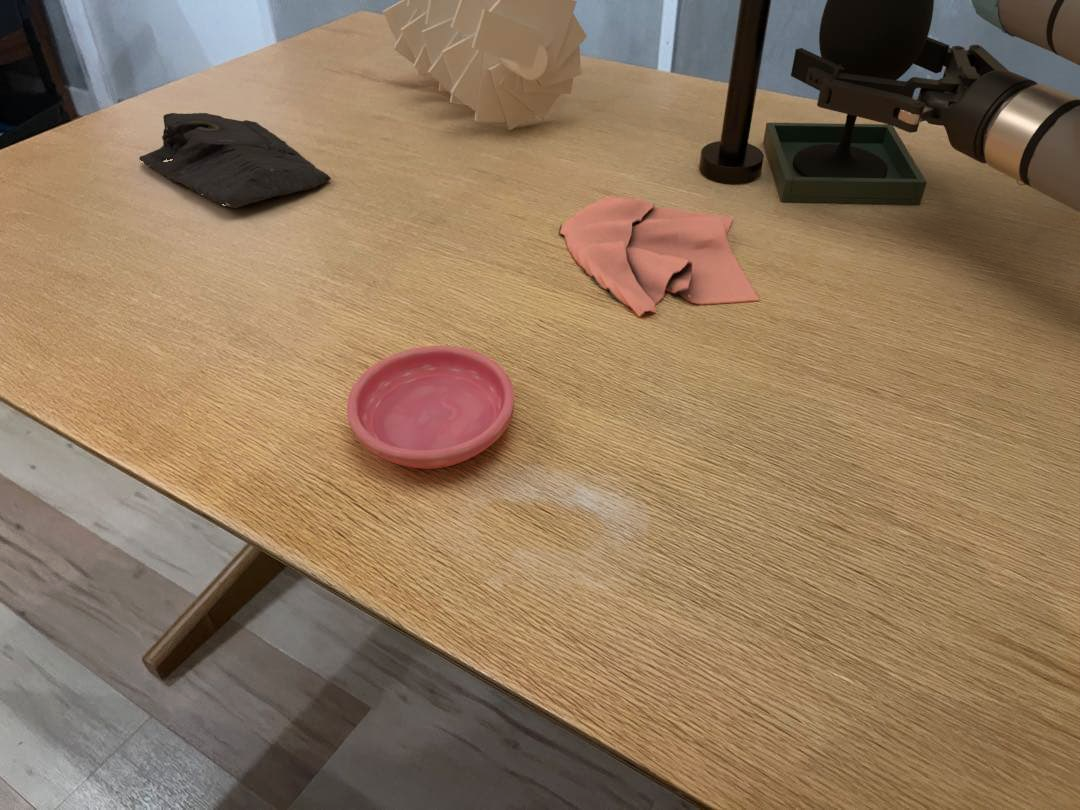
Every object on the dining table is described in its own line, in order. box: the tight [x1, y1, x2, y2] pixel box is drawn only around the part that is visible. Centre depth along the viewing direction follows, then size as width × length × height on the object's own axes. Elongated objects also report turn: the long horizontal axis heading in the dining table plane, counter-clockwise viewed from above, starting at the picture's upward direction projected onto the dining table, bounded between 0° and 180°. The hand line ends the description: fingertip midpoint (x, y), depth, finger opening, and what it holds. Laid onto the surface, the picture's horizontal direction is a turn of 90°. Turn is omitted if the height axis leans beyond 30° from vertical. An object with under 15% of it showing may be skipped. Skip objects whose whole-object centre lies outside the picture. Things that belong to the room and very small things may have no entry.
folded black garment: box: [138, 112, 331, 209], centre depth 94 cm, size 15×22×5 cm
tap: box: [698, 0, 772, 185], centre depth 83 cm, size 10×7×34 cm, turn 86°
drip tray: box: [762, 122, 928, 206], centre depth 93 cm, size 15×15×3 cm
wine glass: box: [793, 0, 935, 178], centre depth 86 cm, size 10×10×20 cm
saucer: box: [346, 345, 516, 470], centre depth 62 cm, size 12×12×3 cm
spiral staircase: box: [382, 0, 588, 131], centre depth 103 cm, size 18×18×25 cm
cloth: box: [558, 195, 760, 318], centre depth 80 cm, size 20×22×2 cm
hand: (847, 50), depth 87 cm, fingers open, 13 cm apart
